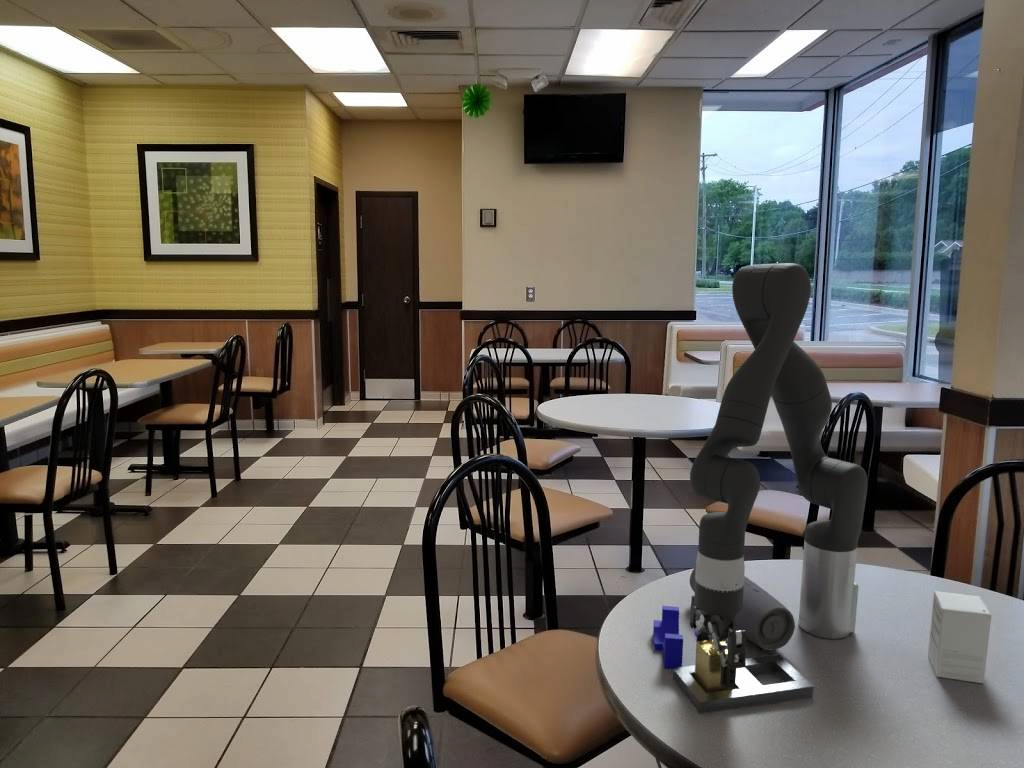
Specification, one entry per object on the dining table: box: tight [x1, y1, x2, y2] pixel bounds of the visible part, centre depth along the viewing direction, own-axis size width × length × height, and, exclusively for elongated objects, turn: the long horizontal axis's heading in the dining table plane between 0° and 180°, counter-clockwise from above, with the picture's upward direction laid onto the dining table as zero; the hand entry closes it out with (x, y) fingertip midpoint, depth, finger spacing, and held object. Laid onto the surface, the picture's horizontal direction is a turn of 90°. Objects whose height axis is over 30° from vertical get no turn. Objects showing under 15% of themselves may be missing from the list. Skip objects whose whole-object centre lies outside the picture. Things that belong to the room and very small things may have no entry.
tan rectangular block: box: [694, 639, 733, 693], centre depth 123 cm, size 4×4×8 cm
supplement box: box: [927, 590, 992, 684], centre depth 129 cm, size 7×7×13 cm
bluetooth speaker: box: [689, 565, 796, 651], centre depth 144 cm, size 23×9×10 cm, turn 17°
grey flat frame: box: [671, 654, 815, 715], centre depth 125 cm, size 20×10×2 cm, turn 103°
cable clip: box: [652, 605, 684, 671], centre depth 136 cm, size 12×4×6 cm, turn 171°
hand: (714, 671), depth 123 cm, fingers open, 8 cm apart
